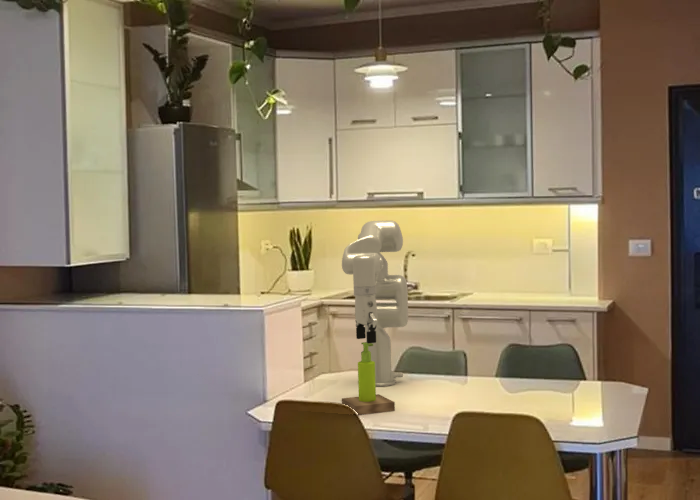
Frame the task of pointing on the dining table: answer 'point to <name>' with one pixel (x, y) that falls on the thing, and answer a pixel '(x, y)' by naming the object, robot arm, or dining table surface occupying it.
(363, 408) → the block
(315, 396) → the dining table surface
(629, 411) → the dining table surface
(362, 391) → the soap dispenser
